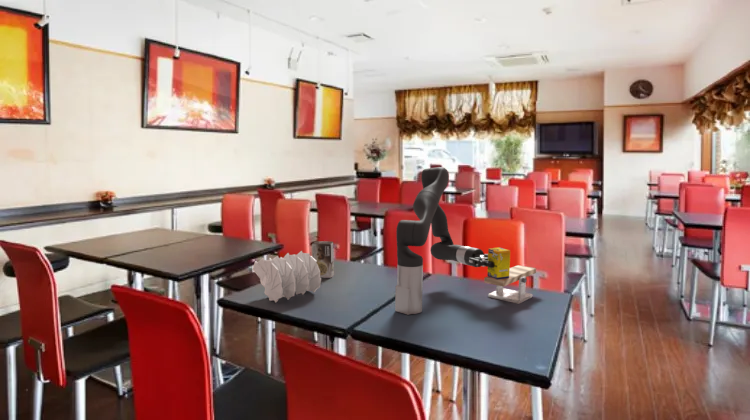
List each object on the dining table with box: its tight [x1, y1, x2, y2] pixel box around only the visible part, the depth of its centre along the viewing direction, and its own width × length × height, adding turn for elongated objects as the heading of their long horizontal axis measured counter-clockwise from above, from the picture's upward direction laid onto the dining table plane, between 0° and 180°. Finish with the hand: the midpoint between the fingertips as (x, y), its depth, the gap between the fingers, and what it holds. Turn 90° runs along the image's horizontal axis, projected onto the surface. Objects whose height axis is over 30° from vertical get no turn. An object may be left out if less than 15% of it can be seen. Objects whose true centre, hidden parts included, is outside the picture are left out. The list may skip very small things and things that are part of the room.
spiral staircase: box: [252, 250, 322, 303], centre depth 186 cm, size 18×18×25 cm
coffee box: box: [311, 240, 335, 279], centre depth 218 cm, size 9×6×16 cm
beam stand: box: [488, 276, 533, 305], centre depth 187 cm, size 12×13×9 cm
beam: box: [483, 265, 537, 288], centre depth 187 cm, size 28×8×2 cm, turn 137°
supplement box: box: [486, 247, 511, 280], centre depth 178 cm, size 6×6×11 cm
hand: (501, 263), depth 178 cm, fingers open, 8 cm apart
